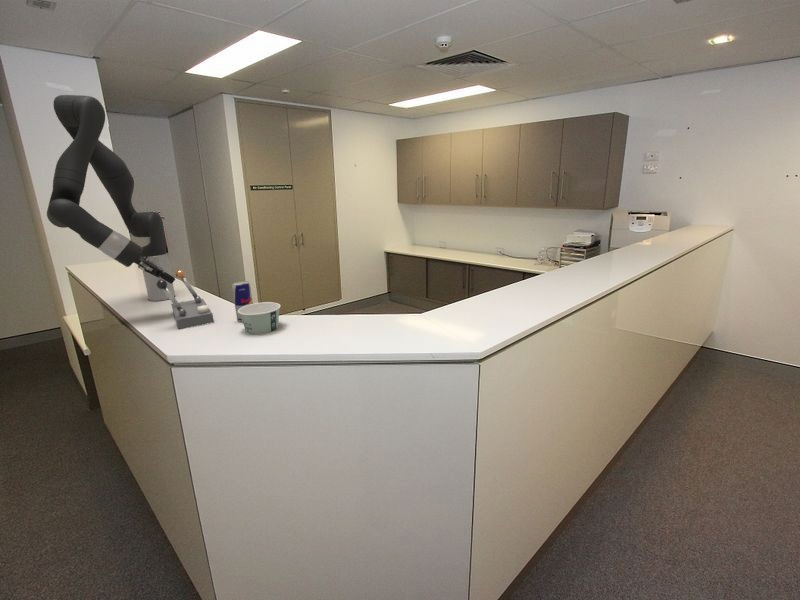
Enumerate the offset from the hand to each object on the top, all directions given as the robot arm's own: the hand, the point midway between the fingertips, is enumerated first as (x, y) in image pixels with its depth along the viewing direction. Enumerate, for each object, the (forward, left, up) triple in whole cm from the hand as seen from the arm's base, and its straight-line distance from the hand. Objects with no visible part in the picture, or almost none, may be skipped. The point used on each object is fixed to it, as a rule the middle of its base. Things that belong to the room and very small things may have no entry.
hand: (173, 281), depth 136 cm
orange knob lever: (0, +6, -7) cm, 10 cm away
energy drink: (+21, +17, -12) cm, 30 cm away
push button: (+13, +6, -9) cm, 17 cm away
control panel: (+6, +3, -12) cm, 14 cm away
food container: (+33, +19, -12) cm, 40 cm away
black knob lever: (+13, 0, -7) cm, 15 cm away
